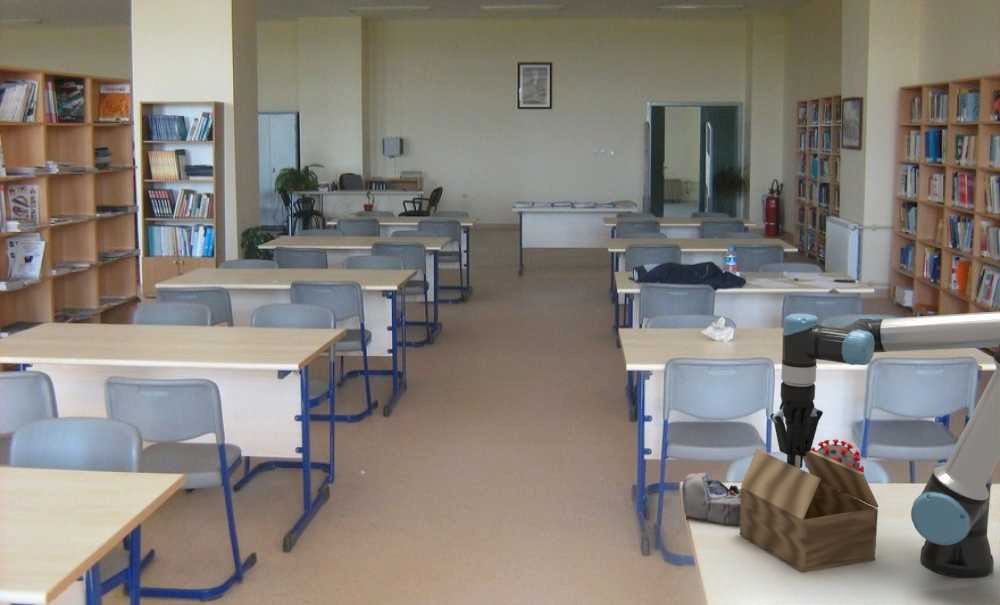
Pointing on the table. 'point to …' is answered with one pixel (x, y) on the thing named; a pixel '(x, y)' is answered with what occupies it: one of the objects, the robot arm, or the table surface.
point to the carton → (812, 530)
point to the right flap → (840, 477)
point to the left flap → (780, 483)
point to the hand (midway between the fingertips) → (793, 481)
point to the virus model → (840, 454)
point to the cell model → (711, 500)
